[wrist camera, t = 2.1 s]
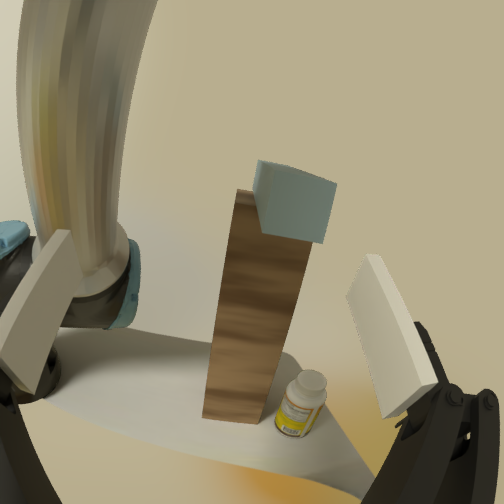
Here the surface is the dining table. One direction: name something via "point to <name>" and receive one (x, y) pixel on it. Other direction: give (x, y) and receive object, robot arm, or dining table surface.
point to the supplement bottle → (301, 404)
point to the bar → (292, 202)
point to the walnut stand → (251, 315)
